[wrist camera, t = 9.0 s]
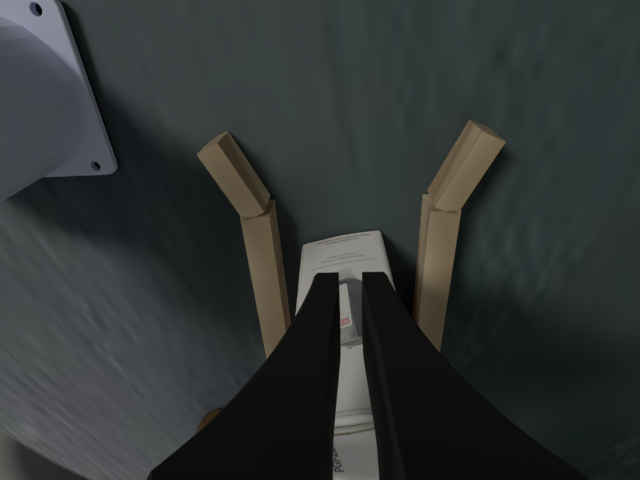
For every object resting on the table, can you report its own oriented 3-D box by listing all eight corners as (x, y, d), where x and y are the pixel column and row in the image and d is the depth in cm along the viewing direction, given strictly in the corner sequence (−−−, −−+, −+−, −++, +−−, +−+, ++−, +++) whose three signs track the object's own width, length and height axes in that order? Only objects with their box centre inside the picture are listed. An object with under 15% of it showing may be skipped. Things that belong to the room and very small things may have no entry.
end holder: (263, 400, 31) (259, 424, 29) (206, 131, 19) (194, 144, 18) (443, 401, 30) (449, 425, 28) (492, 118, 19) (508, 130, 17)
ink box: (406, 332, 26) (448, 541, 16) (334, 343, 27) (330, 548, 17) (385, 223, 22) (424, 415, 12) (299, 240, 23) (267, 433, 13)
